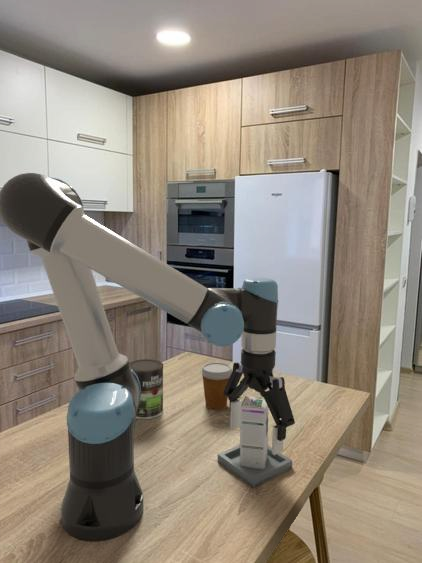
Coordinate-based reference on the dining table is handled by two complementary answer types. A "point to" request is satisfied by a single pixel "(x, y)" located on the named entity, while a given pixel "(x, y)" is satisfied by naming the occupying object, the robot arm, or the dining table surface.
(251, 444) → the syrup box
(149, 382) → the coffee can
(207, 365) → the disposable coffee cup
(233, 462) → the tray
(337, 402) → the dining table surface
